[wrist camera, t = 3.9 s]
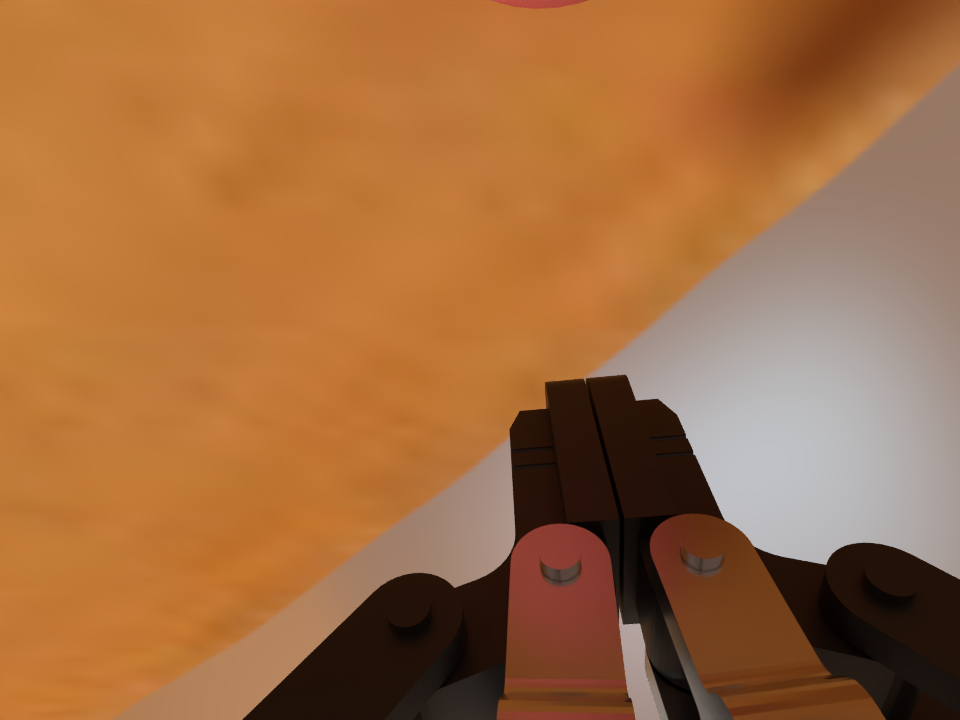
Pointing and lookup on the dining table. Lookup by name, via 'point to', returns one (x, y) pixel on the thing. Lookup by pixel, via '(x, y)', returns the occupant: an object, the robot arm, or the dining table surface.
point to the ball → (539, 3)
